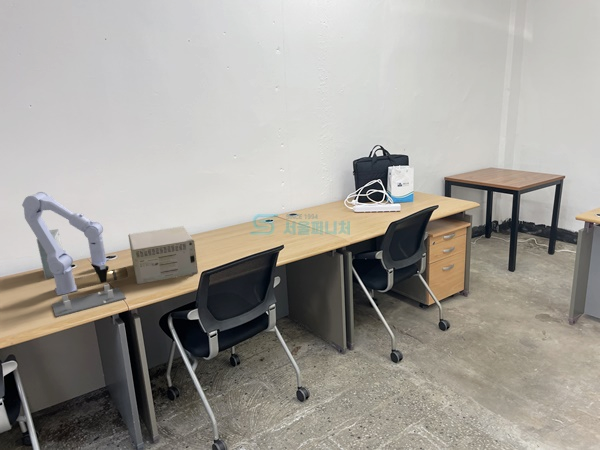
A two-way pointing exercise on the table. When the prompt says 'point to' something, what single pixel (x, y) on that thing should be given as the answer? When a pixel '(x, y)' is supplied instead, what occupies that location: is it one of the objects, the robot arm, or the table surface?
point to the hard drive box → (44, 255)
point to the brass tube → (94, 279)
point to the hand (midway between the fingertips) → (102, 280)
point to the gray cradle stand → (87, 301)
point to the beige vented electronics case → (162, 254)
